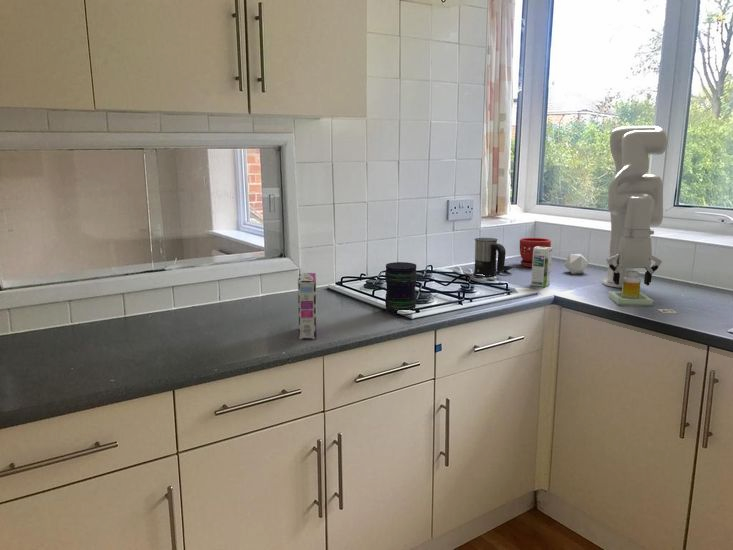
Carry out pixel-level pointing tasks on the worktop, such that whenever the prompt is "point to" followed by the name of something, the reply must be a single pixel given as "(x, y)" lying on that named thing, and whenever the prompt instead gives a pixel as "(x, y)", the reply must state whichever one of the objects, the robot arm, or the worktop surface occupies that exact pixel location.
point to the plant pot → (531, 248)
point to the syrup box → (541, 266)
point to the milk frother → (489, 257)
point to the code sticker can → (666, 311)
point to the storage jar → (400, 286)
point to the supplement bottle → (631, 285)
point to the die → (576, 263)
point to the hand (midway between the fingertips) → (631, 284)
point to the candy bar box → (307, 306)
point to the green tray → (642, 300)
